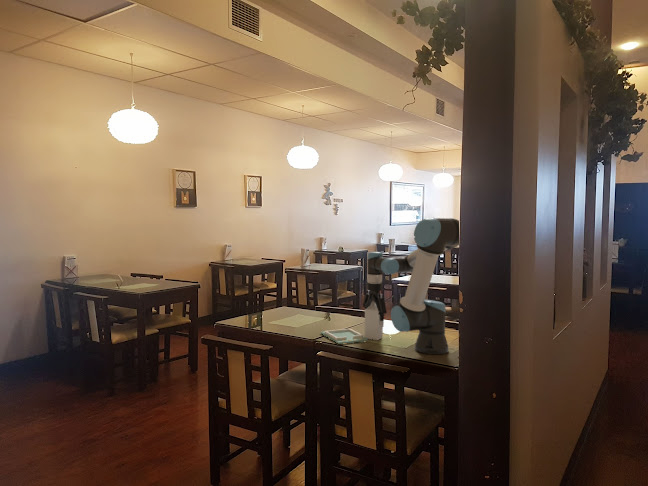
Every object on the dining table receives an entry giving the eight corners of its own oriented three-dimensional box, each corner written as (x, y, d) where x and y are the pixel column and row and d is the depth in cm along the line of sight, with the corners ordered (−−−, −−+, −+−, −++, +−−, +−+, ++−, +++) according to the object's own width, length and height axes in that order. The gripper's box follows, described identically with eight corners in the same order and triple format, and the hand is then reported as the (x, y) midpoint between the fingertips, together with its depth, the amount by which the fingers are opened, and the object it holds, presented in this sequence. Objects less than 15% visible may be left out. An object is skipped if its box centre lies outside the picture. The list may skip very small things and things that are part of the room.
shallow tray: (367, 341, 230) (368, 336, 230) (338, 344, 223) (338, 340, 223) (347, 331, 250) (348, 326, 250) (320, 333, 244) (320, 329, 243)
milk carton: (364, 338, 235) (365, 301, 234) (369, 335, 242) (370, 299, 240) (377, 340, 232) (378, 303, 231) (382, 337, 238) (383, 300, 237)
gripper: (394, 285, 225) (393, 329, 226) (369, 278, 248) (368, 318, 249) (380, 286, 222) (379, 330, 223) (356, 279, 245) (355, 319, 246)
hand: (373, 324), depth 236 cm, fingers open, 13 cm apart
